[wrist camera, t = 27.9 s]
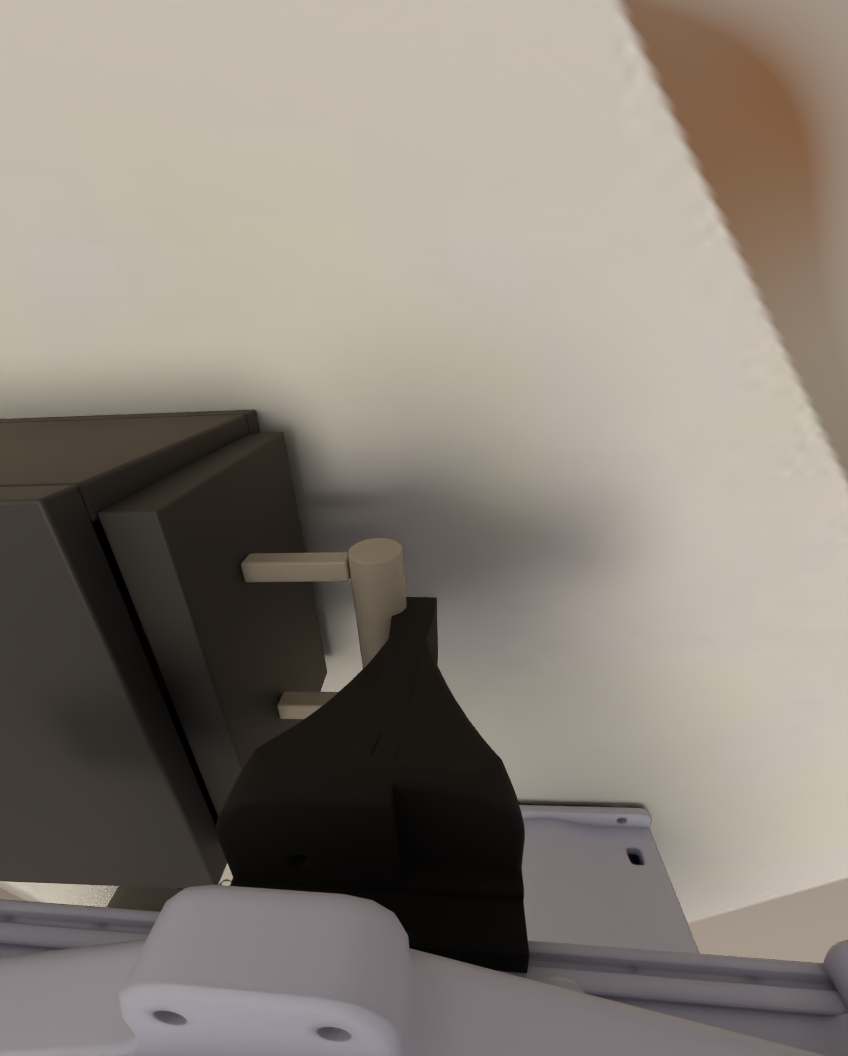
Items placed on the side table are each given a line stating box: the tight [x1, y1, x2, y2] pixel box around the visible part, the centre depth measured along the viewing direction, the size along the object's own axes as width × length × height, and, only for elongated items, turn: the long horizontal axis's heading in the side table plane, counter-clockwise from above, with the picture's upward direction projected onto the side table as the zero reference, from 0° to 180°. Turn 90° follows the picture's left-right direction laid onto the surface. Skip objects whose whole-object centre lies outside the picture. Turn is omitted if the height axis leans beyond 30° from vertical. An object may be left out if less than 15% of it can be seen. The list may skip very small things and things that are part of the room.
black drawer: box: [92, 432, 407, 816], centre depth 13 cm, size 17×10×7 cm, turn 92°
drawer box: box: [0, 410, 260, 888], centre depth 14 cm, size 14×12×9 cm
